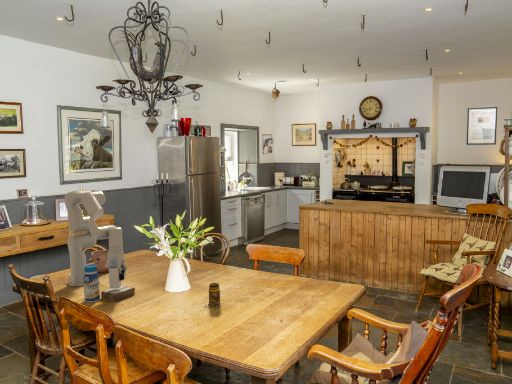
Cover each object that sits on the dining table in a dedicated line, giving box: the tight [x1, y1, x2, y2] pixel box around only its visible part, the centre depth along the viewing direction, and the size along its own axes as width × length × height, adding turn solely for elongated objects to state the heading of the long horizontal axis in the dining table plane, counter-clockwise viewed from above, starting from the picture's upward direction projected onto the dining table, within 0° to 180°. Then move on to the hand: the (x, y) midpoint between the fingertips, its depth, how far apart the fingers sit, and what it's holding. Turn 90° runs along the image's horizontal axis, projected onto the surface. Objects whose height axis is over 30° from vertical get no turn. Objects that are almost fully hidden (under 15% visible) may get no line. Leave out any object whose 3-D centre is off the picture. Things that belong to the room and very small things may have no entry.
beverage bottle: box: [83, 263, 101, 303], centre depth 241 cm, size 8×8×20 cm
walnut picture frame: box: [100, 284, 136, 303], centre depth 248 cm, size 12×14×4 cm
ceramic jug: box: [88, 249, 109, 274], centre depth 300 cm, size 18×14×14 cm
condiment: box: [203, 282, 223, 309], centre depth 231 cm, size 7×8×12 cm
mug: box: [108, 266, 127, 289], centre depth 247 cm, size 10×7×12 cm, turn 133°
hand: (117, 278), depth 247 cm, fingers closed on mug, 6 cm apart
